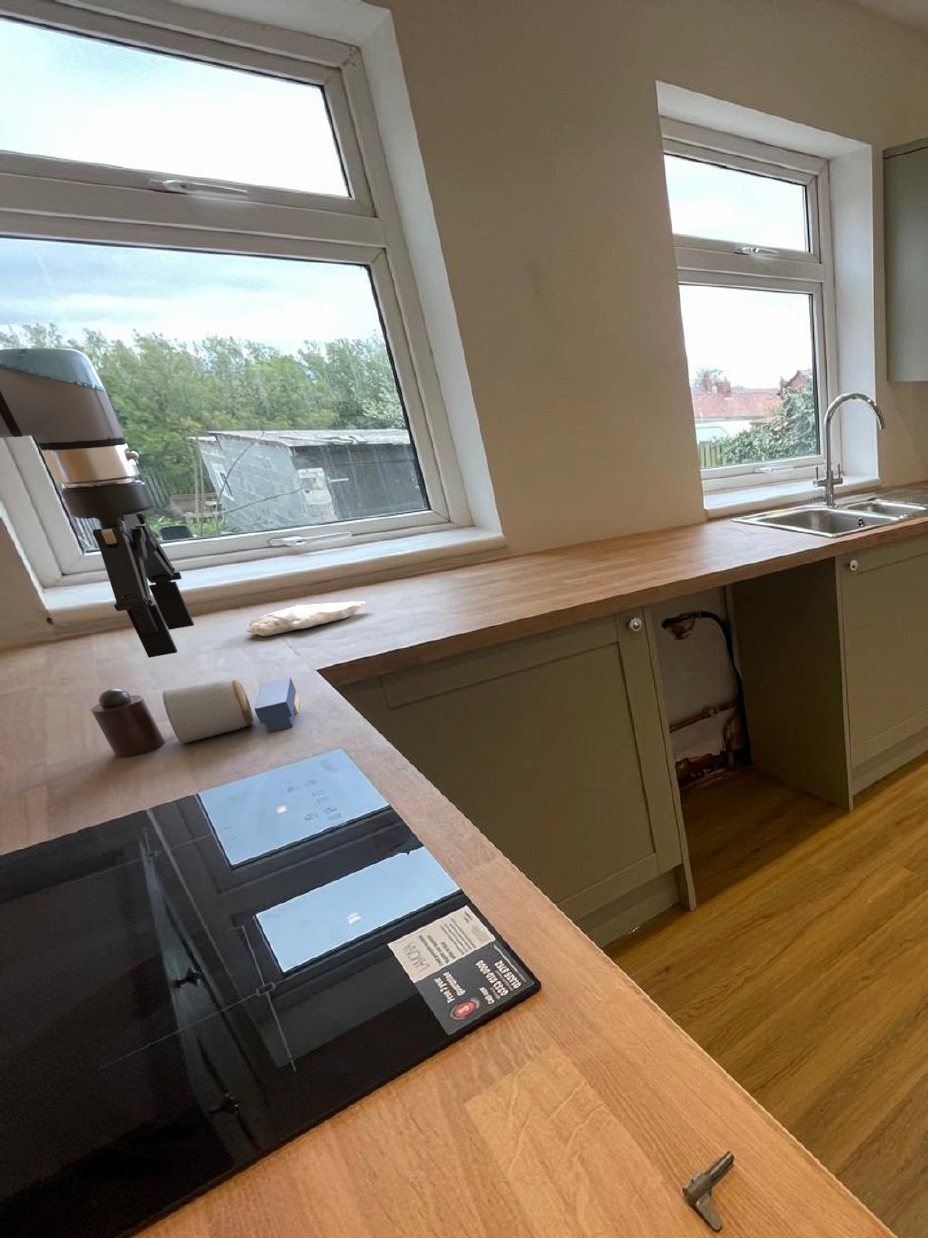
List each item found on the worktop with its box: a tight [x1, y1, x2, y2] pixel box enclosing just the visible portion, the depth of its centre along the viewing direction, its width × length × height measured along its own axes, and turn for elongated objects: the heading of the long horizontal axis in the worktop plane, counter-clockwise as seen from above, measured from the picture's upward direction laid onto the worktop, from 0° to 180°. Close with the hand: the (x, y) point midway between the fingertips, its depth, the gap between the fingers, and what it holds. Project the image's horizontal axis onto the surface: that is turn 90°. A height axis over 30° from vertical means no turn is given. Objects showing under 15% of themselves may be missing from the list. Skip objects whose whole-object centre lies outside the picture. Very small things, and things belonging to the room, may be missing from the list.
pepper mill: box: [90, 688, 165, 758], centre depth 98 cm, size 5×5×9 cm
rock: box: [246, 600, 366, 637], centre depth 146 cm, size 4×13×20 cm
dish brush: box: [254, 677, 301, 734], centre depth 106 cm, size 11×4×4 cm, turn 35°
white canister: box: [162, 679, 254, 744], centre depth 103 cm, size 11×8×8 cm
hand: (173, 640), depth 98 cm, fingers open, 13 cm apart
